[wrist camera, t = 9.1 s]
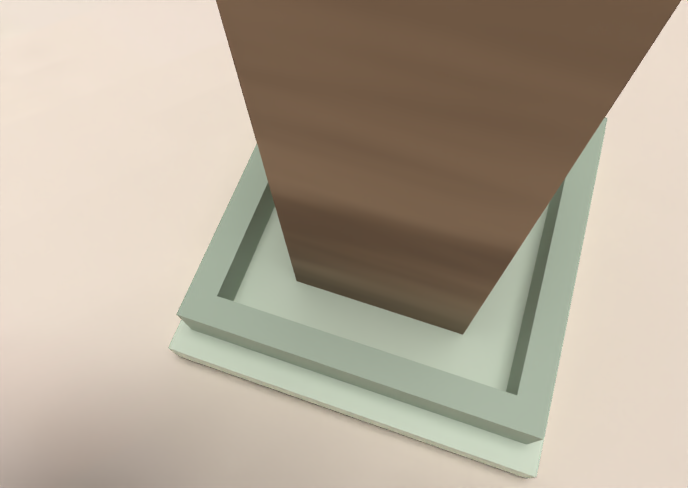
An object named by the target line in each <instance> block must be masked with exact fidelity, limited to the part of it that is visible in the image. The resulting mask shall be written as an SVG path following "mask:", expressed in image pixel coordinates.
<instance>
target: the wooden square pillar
mask: <svg viewBox="0 0 688 488" xmlns="http://www.w3.org/2000/svg"><path fill="white" fill-rule="evenodd" d="M680 1H681V0H216V2H217V5H218V9H219V12H220V16H221V19H222V23H223V26H224V30H225V33H226V37H227V40H228V44H229V47H230V51H231V54H232V58H233V61H234V65H235V68H236V72H237V75H238V79H239V82H240V86H241V89H242V93H243V96H244V100H245V103H246V107H247V110H248V114H249V117H250V120H251V124H252V127H253V131H254V134H255V138H256V141H257V145H258V148H259V152H260V155H261V159H262V162H263V166H264V169H265V173H266V176H267V180H268V183H269V187H270V190H271V194H272V197H273V201H274V204H275V208H276V211H277V215H278V218H279V222H280V225H281V229H282V232H283V236H284V239H285V243H286V246H287V250H288V253H289V257H290V260H291V264H292V267H293V271H294V274H295V277H296V281H298V282H301V283H304V284H307V285H310V286H313V287H316V288H319V289H323V290H326V291H329V292H332V293H335V294H338V295H341V296H344V297H347V298H351V299H354V300H357V301H360V302H363V303H366V304H369V305H372V306H375V307H378V308H382V309H385V310H388V311H391V312H394V313H397V314H400V315H403V316H406V317H410V318H413V319H416V320H419V321H422V322H425V323H428V324H431V325H434V326H437V327H441V328H444V329H447V330H450V331H453V332H456V333H459V334H462V335H463V334H464V332H465V331H466V329H467V328H468V326H469V325H470V323H471V322H472V320H473V319H474V317H475V315H476V314H477V312H478V311H479V309H480V308H481V306H482V305H483V303H484V302H485V300H486V299H487V297H488V296H489V294H490V292H491V291H492V289H493V288H494V286H495V285H496V283H497V282H498V280H499V279H500V277H501V276H502V274H503V273H504V271H505V269H506V268H507V266H508V265H509V263H510V262H511V260H512V259H513V257H514V256H515V254H516V253H517V251H518V250H519V248H520V246H521V245H522V243H523V242H524V240H525V239H526V237H527V236H528V234H529V233H530V231H531V230H532V228H533V227H534V225H535V224H536V222H537V220H538V219H539V217H540V216H541V214H542V213H543V211H544V210H545V208H546V207H547V205H548V204H549V202H550V201H551V199H552V197H553V196H554V194H555V193H556V191H557V190H558V188H559V187H560V185H561V184H562V182H563V181H564V179H565V178H566V176H567V174H568V173H569V171H570V170H571V168H572V167H573V165H574V164H575V162H576V161H577V159H578V158H579V156H580V155H581V153H582V152H583V150H584V148H585V147H586V145H587V144H588V142H589V141H590V139H591V138H592V136H593V135H594V133H595V132H596V130H597V129H598V127H599V125H600V124H601V122H602V121H603V119H604V118H605V116H606V115H607V113H608V112H609V110H610V109H611V107H612V106H613V104H614V102H615V101H616V99H617V98H618V96H619V95H620V93H621V92H622V90H623V89H624V87H625V86H626V84H627V83H628V81H629V80H630V78H631V76H632V75H633V73H634V72H635V70H636V69H637V67H638V66H639V64H640V63H641V61H642V60H643V58H644V57H645V55H646V53H647V52H648V50H649V49H650V47H651V46H652V44H653V43H654V41H655V40H656V38H657V37H658V35H659V34H660V32H661V30H662V29H663V27H664V26H665V24H666V23H667V21H668V20H669V18H670V17H671V15H672V14H673V12H674V11H675V9H676V7H677V6H678V4H679V3H680Z"/></svg>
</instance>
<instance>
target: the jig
mask: <svg viewBox="0 0 688 488" xmlns="http://www.w3.org/2000/svg"><path fill="white" fill-rule="evenodd" d="M606 122H607V118H604V119H603V121H602V122H601V124H600V125H599V127H598V129H597V130H596V132H595V133H594V135H593V136H592V138H591V139H590V141H589V142H588V144H587V145H586V147H585V148H584V150H583V152H582V153H581V155H580V156H579V158H578V159H577V161H576V162H575V164H574V165H573V167H572V168H571V170H570V171H569V173H568V174H567V176H566V178H565V179H564V181H563V182H562V184H561V185H560V187H559V188H558V190H557V191H556V193H555V194H554V196H553V197H552V199H551V201H550V202H549V204H548V205H547V207H546V208H545V210H544V211H543V213H542V214H541V216H540V217H539V219H538V220H537V222H536V224H535V225H534V227H533V228H532V230H531V231H530V233H529V234H528V236H527V237H526V239H525V240H524V242H523V243H522V245H521V246H520V248H519V250H518V251H517V253H516V254H515V256H514V257H513V259H512V260H511V262H510V263H509V265H508V266H507V268H506V269H505V271H504V273H503V274H502V276H501V277H500V279H499V280H498V282H497V283H496V285H495V286H494V288H493V289H492V291H491V292H490V294H489V296H488V297H487V299H486V300H485V302H484V303H483V305H482V306H481V308H480V309H479V311H478V312H477V314H476V315H475V317H474V319H473V320H472V322H471V323H470V325H469V326H468V328H467V329H466V331H465V332H464V334H463V335H462V334H459V333H456V332H453V331H450V330H447V329H444V328H441V327H437V326H434V325H431V324H428V323H425V322H422V321H419V320H416V319H413V318H410V317H406V316H403V315H400V314H397V313H394V312H391V311H388V310H385V309H382V308H378V307H375V306H372V305H369V304H366V303H363V302H360V301H357V300H354V299H351V298H347V297H344V296H341V295H338V294H335V293H332V292H329V291H326V290H323V289H319V288H316V287H313V286H310V285H307V284H304V283H301V282H298V281H296V277H295V274H294V271H293V267H292V264H291V260H290V257H289V253H288V250H287V246H286V243H285V239H284V236H283V232H282V229H281V225H280V222H279V218H278V215H277V211H276V208H275V204H274V201H273V197H272V194H271V190H270V187H269V183H268V180H267V176H266V173H265V169H264V166H263V162H262V159H261V155H260V152H259V148H258V145H257V144H256V147H255V149H254V151H253V153H252V155H251V157H250V159H249V161H248V164H247V166H246V168H245V170H244V172H243V174H242V176H241V178H240V181H239V183H238V185H237V187H236V189H235V191H234V193H233V195H232V198H231V200H230V202H229V204H228V206H227V208H226V210H225V212H224V215H223V217H222V219H221V221H220V223H219V225H218V227H217V229H216V232H215V234H214V236H213V238H212V240H211V242H210V244H209V246H208V249H207V251H206V253H205V255H204V257H203V259H202V261H201V263H200V266H199V268H198V270H197V272H196V274H195V276H194V278H193V280H192V283H191V285H190V287H189V289H188V291H187V293H186V295H185V297H184V300H183V302H182V304H181V306H180V308H179V310H178V312H177V315H178V316H179V317H180V318H181V319H182V320H181V322H180V324H179V326H178V328H177V330H176V332H175V335H174V337H173V339H172V341H171V343H170V345H169V349H170V350H171V351H173V352H174V353H175V354H176V355H178V356H180V357H183V358H186V359H188V360H191V361H194V362H197V363H200V364H203V365H205V366H208V367H211V368H214V369H217V370H220V371H222V372H225V373H228V374H231V375H234V376H237V377H240V378H242V379H245V380H248V381H251V382H254V383H257V384H259V385H262V386H265V387H268V388H271V389H274V390H276V391H279V392H282V393H285V394H288V395H291V396H293V397H296V398H299V399H302V400H305V401H308V402H311V403H313V404H316V405H319V406H322V407H325V408H328V409H330V410H333V411H336V412H339V413H342V414H345V415H347V416H350V417H353V418H356V419H359V420H362V421H365V422H367V423H370V424H373V425H376V426H379V427H382V428H384V429H387V430H390V431H393V432H396V433H399V434H401V435H404V436H407V437H410V438H413V439H416V440H418V441H421V442H424V443H427V444H430V445H433V446H436V447H438V448H441V449H444V450H447V451H450V452H453V453H455V454H458V455H461V456H464V457H467V458H470V459H472V460H475V461H478V462H481V463H484V464H487V465H489V466H492V467H495V468H498V469H501V470H504V471H507V472H509V473H512V474H515V475H518V476H521V477H524V478H534V477H537V472H538V467H539V462H540V457H541V452H542V447H543V442H544V437H545V432H546V427H547V422H548V416H549V411H550V406H551V401H552V396H553V391H554V386H555V381H556V376H557V371H558V366H559V361H560V356H561V351H562V346H563V341H564V336H565V331H566V326H567V321H568V316H569V311H570V306H571V301H572V296H573V291H574V286H575V280H576V275H577V270H578V265H579V260H580V255H581V250H582V245H583V240H584V235H585V230H586V225H587V220H588V215H589V210H590V205H591V200H592V195H593V190H594V185H595V180H596V175H597V170H598V165H599V160H600V155H601V149H602V144H603V139H604V134H605V127H606Z"/></svg>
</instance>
